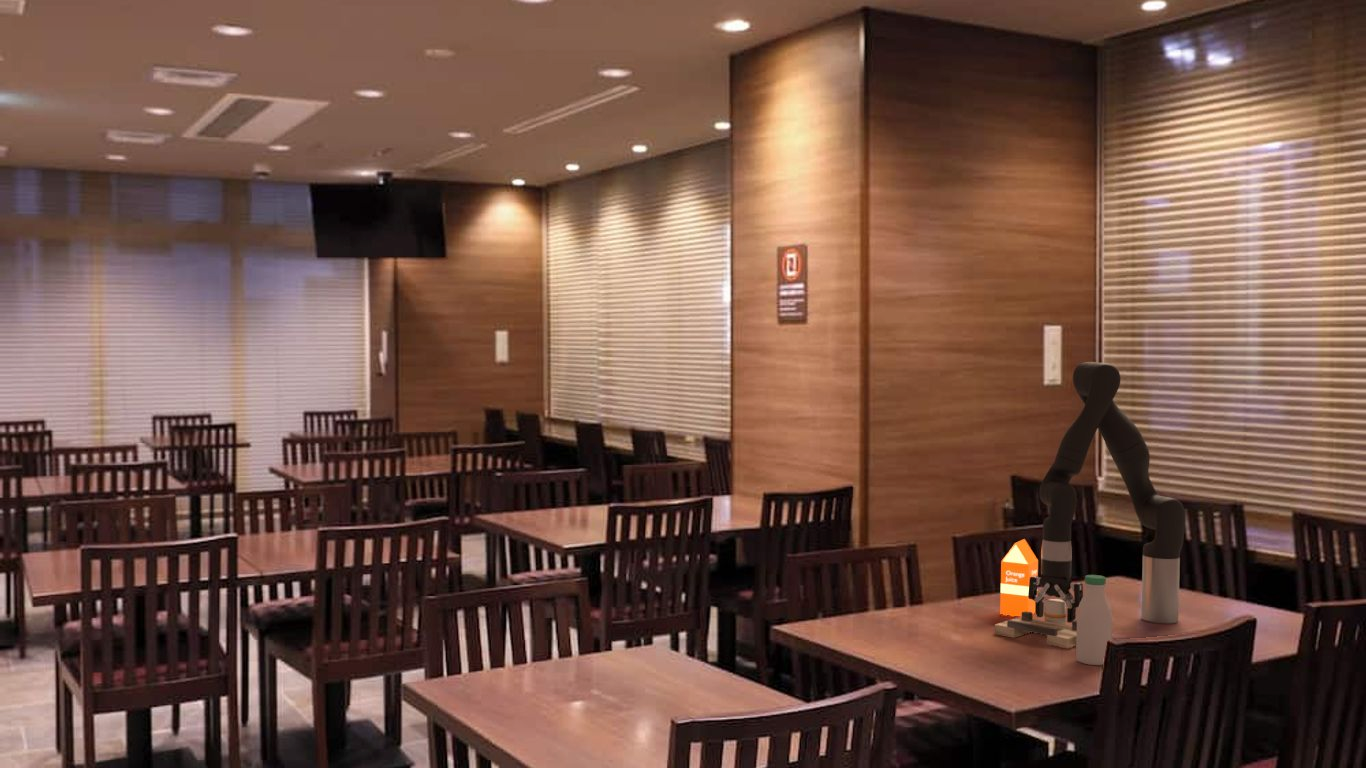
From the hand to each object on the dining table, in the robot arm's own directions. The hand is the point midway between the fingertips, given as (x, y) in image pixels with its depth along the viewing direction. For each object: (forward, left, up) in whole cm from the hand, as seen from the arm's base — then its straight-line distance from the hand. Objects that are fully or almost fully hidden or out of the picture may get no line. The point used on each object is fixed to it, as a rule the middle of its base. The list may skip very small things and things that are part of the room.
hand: (1055, 619), depth 315 cm
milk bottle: (+25, +23, -2) cm, 34 cm away
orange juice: (-8, -15, -2) cm, 17 cm away
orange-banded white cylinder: (0, 0, -2) cm, 2 cm away
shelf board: (+11, +3, -2) cm, 12 cm away
